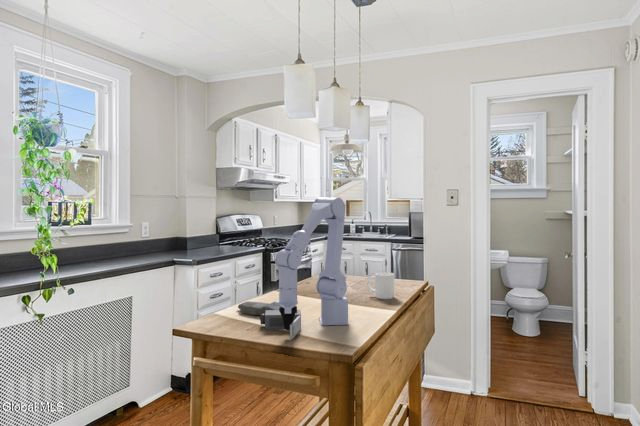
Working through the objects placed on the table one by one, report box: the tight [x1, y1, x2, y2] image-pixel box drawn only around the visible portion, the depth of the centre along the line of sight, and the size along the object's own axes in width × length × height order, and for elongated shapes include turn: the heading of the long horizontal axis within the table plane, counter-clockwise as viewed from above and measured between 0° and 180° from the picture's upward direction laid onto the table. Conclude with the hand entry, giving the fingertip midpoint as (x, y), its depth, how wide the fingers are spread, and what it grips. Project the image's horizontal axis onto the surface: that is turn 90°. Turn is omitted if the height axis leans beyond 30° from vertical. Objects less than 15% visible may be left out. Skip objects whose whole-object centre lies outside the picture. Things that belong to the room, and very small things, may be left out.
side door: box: [289, 314, 302, 340], centre depth 140 cm, size 11×1×5 cm, turn 168°
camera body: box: [260, 309, 302, 331], centre depth 148 cm, size 14×6×6 cm, turn 94°
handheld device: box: [237, 300, 282, 316], centre depth 165 cm, size 10×20×5 cm, turn 62°
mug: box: [366, 271, 395, 300], centre depth 190 cm, size 12×8×10 cm
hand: (288, 329), depth 138 cm, fingers closed, pressing on side door
